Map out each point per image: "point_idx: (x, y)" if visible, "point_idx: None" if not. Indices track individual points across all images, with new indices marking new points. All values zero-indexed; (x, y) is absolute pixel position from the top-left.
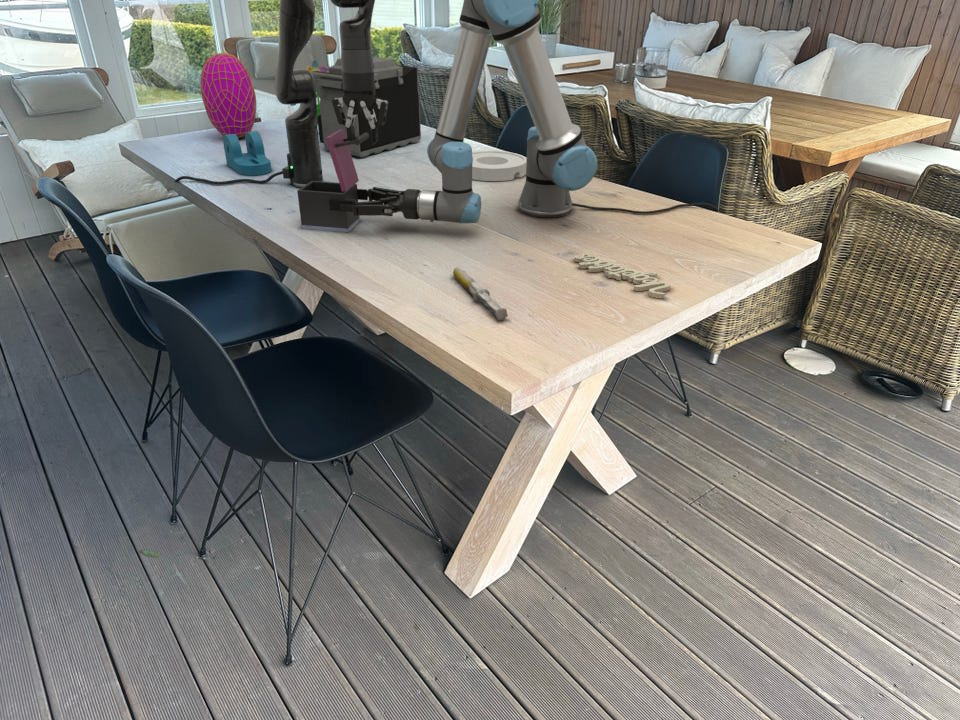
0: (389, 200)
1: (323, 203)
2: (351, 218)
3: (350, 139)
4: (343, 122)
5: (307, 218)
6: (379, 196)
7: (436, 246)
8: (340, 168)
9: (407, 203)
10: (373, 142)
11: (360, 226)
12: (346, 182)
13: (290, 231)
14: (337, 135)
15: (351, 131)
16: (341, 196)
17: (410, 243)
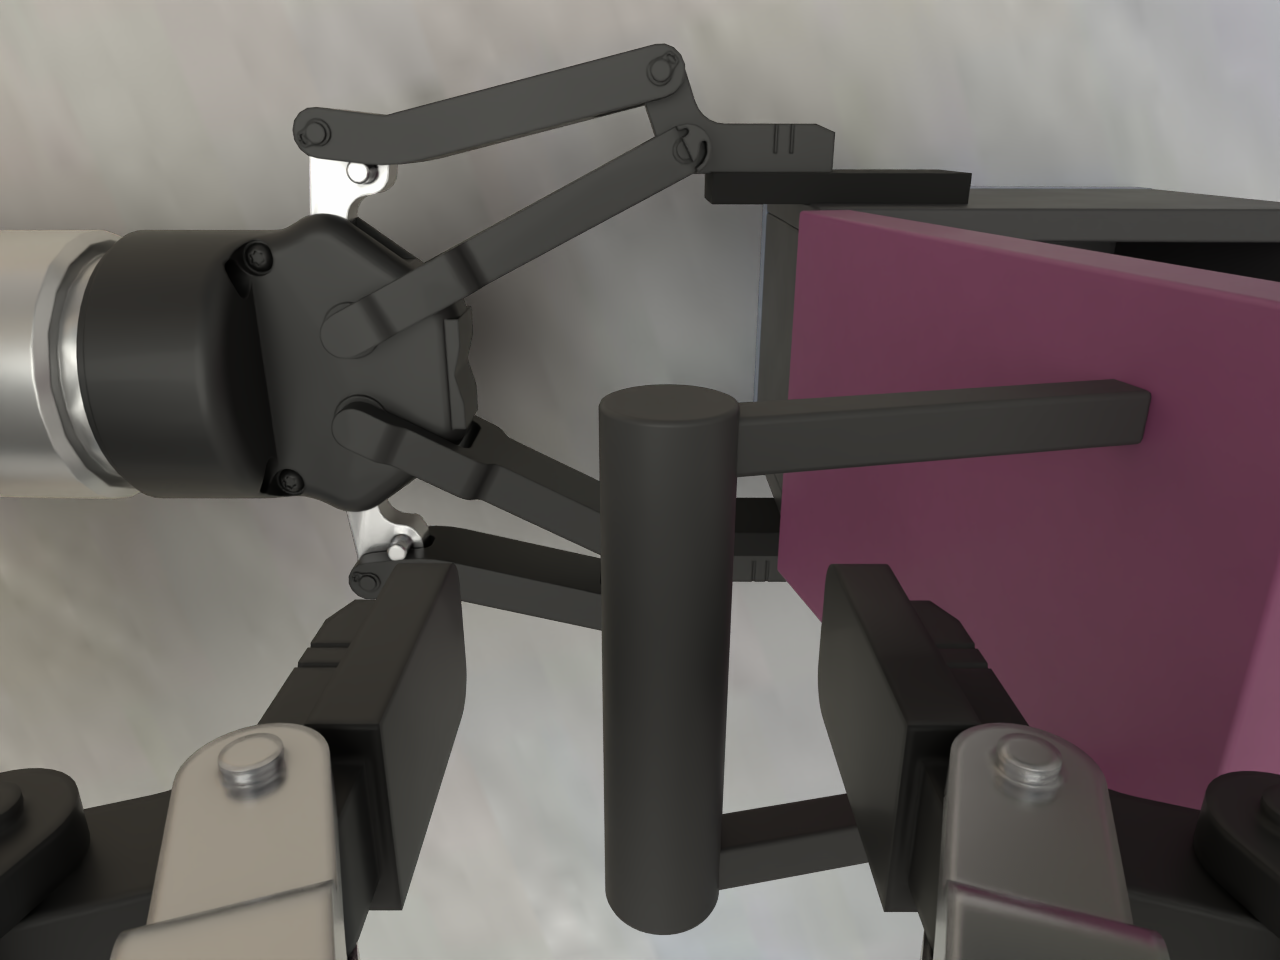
0: (380, 287)
1: (1021, 200)
2: (769, 293)
3: (878, 587)
4: (1194, 856)
5: (1122, 192)
6: (567, 483)
7: (3, 33)
8: (922, 261)
9: (180, 243)
10: (392, 574)
11: (712, 331)
12: (825, 281)
13: (1211, 104)
14: (1199, 688)
15: (885, 682)
16: (850, 206)
17: (218, 53)
